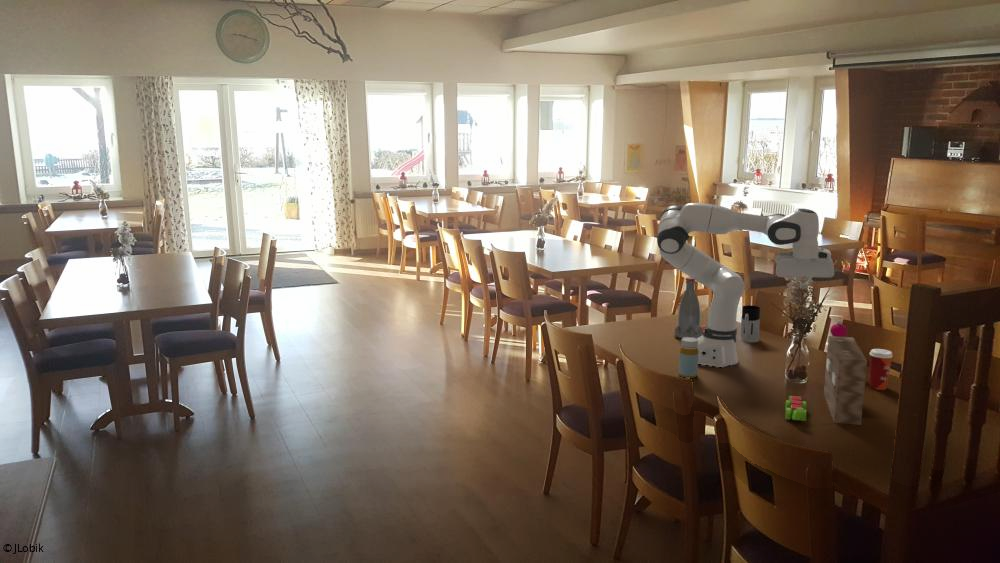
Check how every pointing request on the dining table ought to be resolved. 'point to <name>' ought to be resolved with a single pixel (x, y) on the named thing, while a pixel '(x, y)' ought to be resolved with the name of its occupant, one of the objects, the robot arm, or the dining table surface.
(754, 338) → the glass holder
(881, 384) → the paper cup
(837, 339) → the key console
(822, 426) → the dining table surface
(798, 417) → the toy crocodile
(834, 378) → the off-white rectangular block
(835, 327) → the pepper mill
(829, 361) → the grey block
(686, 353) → the bottle
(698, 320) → the bottle
